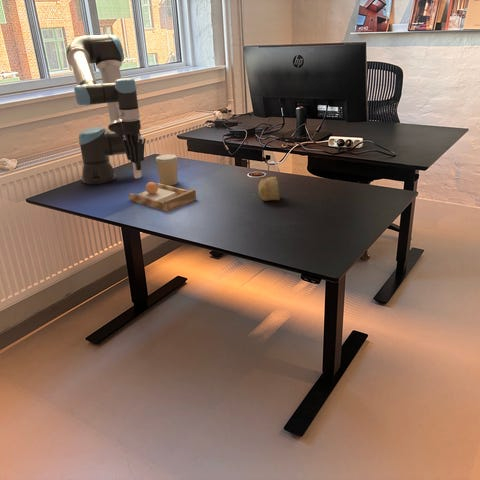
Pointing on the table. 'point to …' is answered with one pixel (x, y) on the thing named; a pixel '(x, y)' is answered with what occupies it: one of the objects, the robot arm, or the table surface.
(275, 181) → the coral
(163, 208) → the lane frame
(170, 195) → the mat
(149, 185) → the ball
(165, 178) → the coffee cup
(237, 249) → the table surface
